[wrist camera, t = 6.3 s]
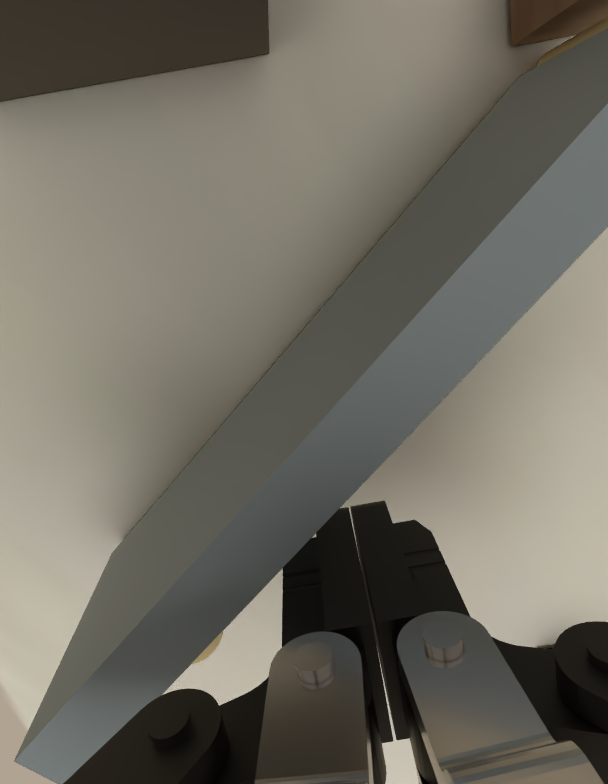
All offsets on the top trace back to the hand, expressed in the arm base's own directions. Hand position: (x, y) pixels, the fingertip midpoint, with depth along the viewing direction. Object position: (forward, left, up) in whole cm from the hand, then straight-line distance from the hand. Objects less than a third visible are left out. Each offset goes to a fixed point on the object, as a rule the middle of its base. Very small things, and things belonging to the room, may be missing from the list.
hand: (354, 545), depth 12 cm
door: (-3, +1, -4) cm, 5 cm away
